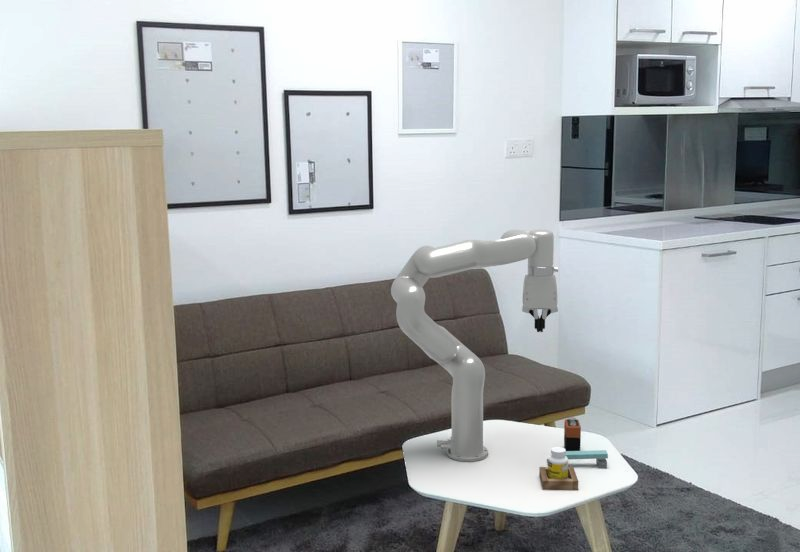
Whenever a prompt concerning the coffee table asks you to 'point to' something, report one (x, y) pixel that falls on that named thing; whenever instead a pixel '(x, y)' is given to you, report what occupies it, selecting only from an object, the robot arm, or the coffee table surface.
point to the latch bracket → (598, 463)
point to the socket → (558, 480)
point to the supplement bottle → (558, 464)
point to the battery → (572, 434)
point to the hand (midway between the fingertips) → (539, 330)
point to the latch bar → (587, 454)
